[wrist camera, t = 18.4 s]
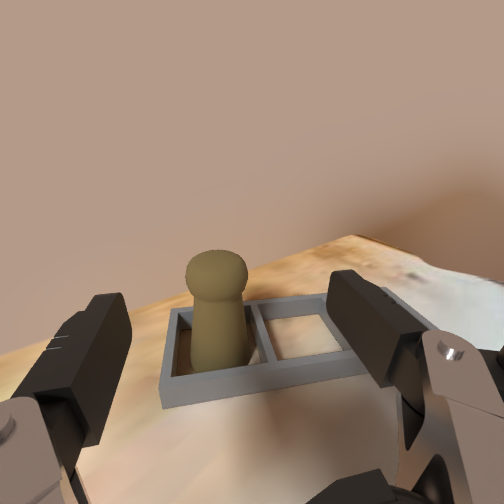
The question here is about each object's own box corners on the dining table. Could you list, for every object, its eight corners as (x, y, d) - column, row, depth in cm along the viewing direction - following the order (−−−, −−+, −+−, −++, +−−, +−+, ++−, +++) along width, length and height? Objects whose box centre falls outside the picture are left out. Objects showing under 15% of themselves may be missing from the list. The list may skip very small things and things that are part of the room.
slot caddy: (380, 302, 33) (385, 286, 32) (444, 359, 24) (454, 340, 23) (173, 326, 28) (170, 308, 27) (162, 409, 19) (158, 388, 18)
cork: (206, 327, 28) (200, 238, 23) (257, 340, 26) (261, 247, 22) (177, 371, 22) (161, 267, 18) (238, 389, 21) (238, 281, 16)
